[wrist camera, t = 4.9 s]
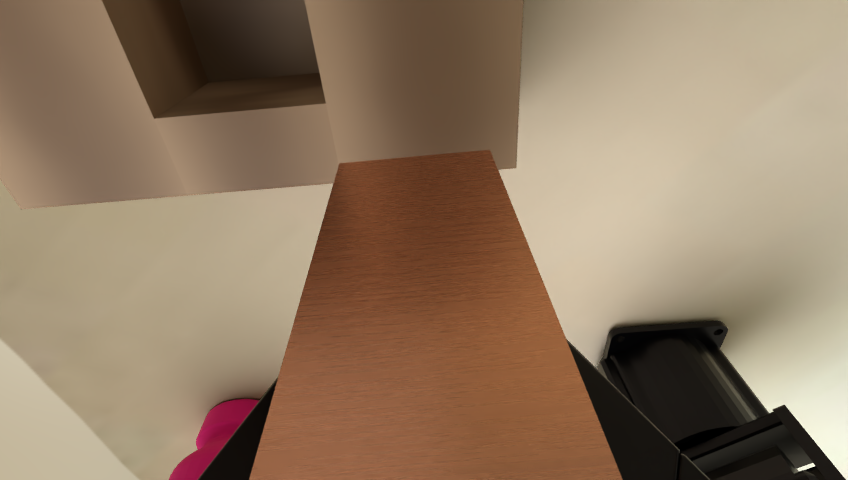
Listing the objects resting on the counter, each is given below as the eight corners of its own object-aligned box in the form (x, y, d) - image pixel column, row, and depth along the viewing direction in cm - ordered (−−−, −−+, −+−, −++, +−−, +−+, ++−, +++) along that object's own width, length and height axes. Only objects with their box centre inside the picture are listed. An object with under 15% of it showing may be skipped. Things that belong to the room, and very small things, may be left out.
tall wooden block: (489, 149, 9) (662, 583, 3) (488, 326, 11) (573, 717, 6) (339, 163, 9) (211, 617, 3) (375, 335, 11) (347, 733, 6)
